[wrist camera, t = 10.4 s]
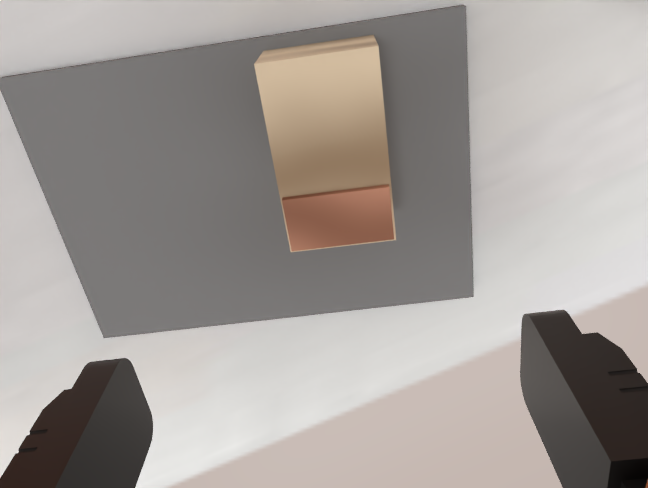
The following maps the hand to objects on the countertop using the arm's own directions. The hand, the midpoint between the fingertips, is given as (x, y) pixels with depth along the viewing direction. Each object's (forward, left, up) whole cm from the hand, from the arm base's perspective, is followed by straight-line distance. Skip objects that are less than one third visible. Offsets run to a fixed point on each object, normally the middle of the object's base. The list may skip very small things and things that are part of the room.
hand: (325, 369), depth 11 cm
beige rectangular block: (0, 0, -15) cm, 15 cm away
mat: (-4, -2, -16) cm, 16 cm away
